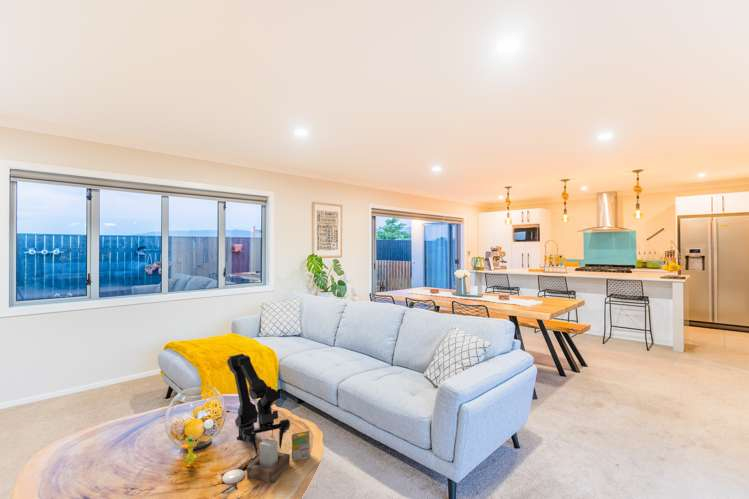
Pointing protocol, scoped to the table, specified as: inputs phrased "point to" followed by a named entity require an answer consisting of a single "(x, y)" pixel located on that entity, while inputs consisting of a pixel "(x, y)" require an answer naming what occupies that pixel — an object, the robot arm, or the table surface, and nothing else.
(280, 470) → the walnut holder block
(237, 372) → the robot arm
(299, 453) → the crayon box
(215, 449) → the table surface
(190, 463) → the toy figure
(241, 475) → the ceramic coaster
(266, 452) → the skincare box
